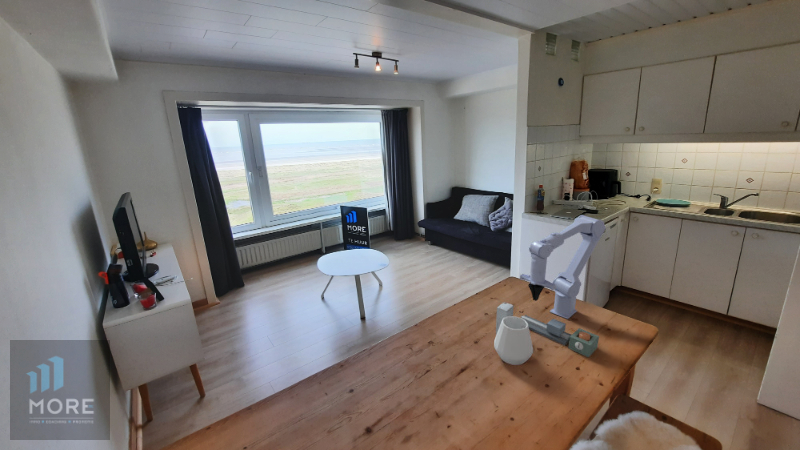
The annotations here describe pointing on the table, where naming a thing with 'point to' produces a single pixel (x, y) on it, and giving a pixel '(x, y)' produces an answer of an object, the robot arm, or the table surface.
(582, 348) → the cabinet
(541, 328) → the rail base
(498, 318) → the skincare box
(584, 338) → the button
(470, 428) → the table surface
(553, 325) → the carriage
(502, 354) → the cup
